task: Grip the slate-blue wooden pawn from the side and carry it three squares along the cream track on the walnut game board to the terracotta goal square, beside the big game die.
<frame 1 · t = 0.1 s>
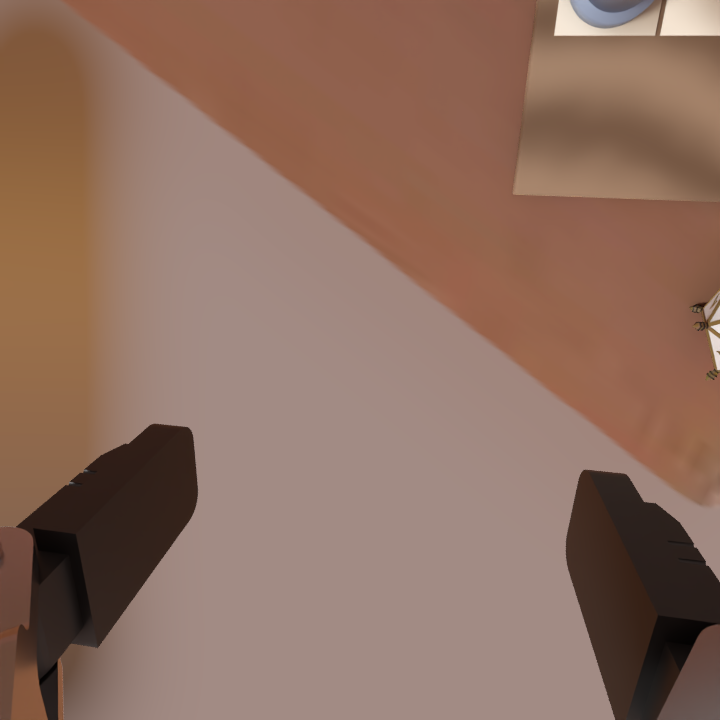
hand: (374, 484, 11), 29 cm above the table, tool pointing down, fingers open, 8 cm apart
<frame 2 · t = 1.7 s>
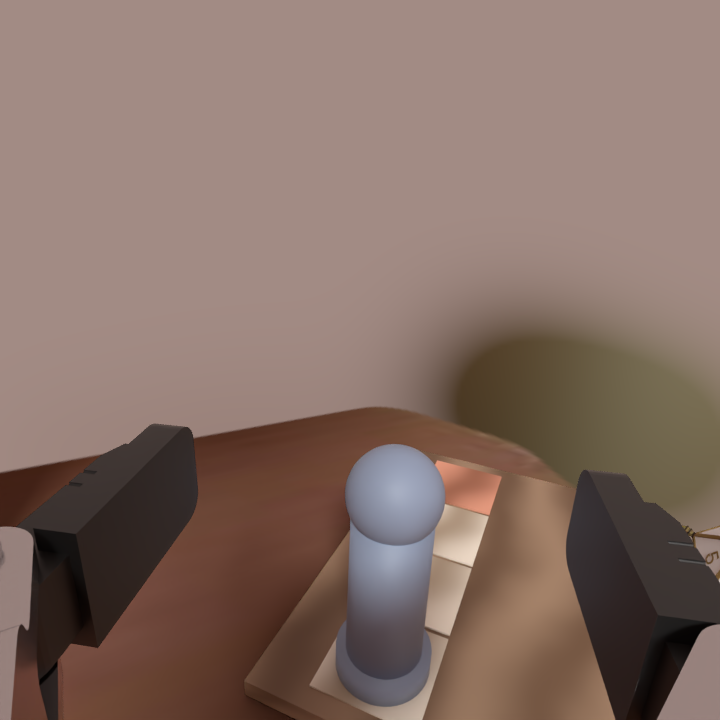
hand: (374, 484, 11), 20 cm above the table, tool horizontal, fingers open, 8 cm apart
pawn: (382, 660, 28), point 1 cm above the table, touching game board
game board: (472, 580, 35), on the table
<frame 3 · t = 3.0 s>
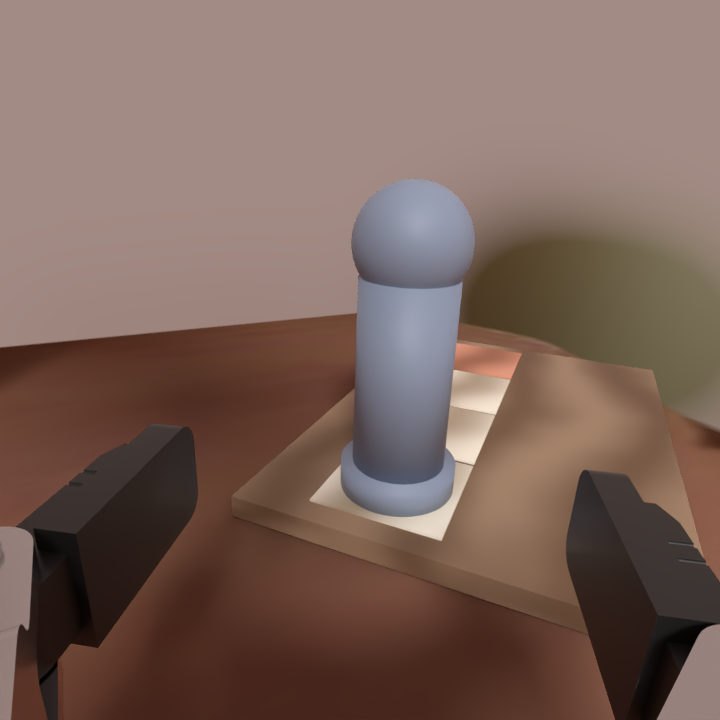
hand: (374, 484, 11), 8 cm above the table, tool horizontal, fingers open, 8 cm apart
pawn: (396, 481, 23), point 1 cm above the table, touching game board
game board: (495, 431, 30), on the table
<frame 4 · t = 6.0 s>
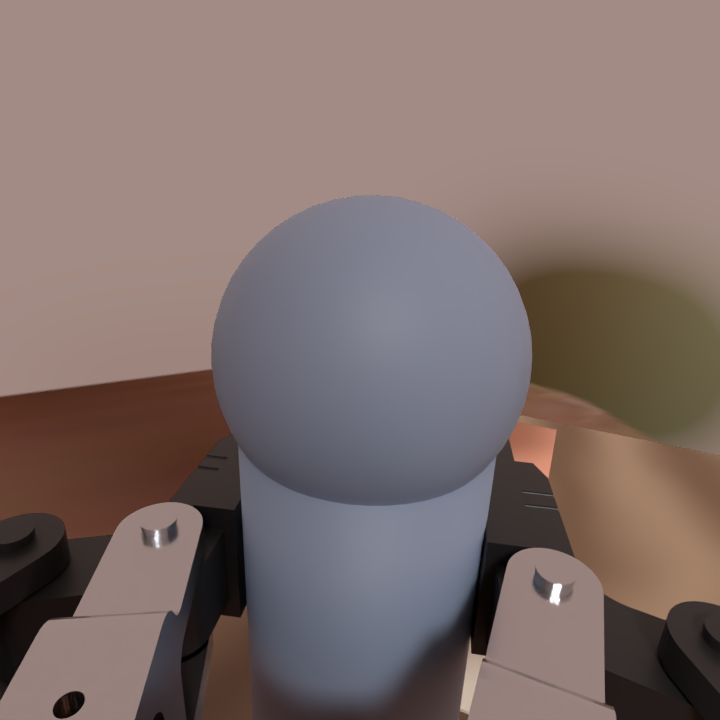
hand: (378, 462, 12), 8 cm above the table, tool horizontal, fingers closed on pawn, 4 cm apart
game board: (531, 599, 19), on the table
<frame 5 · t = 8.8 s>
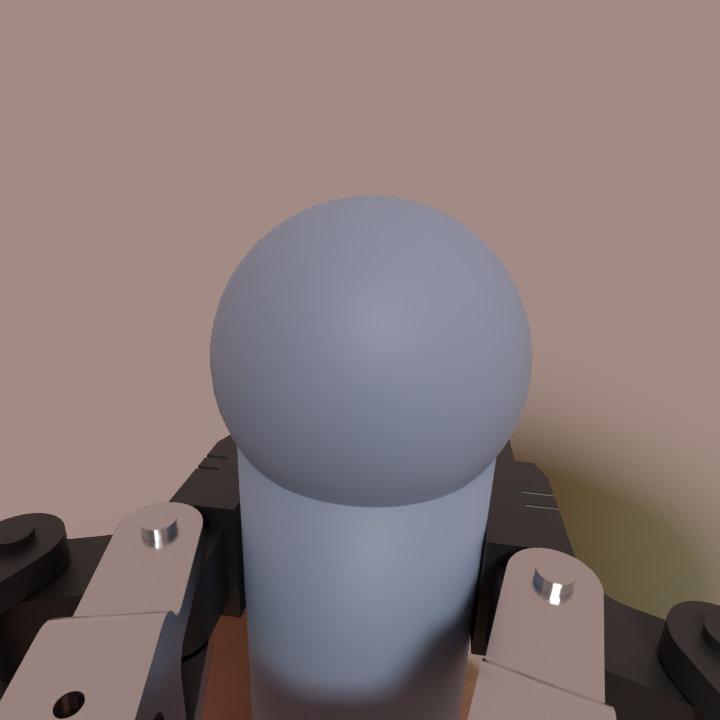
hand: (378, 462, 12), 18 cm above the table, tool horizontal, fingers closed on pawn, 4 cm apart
when the fingers open (9 cm above the table, at t = 11.5 s): pawn drops 1 cm, resting on game board.
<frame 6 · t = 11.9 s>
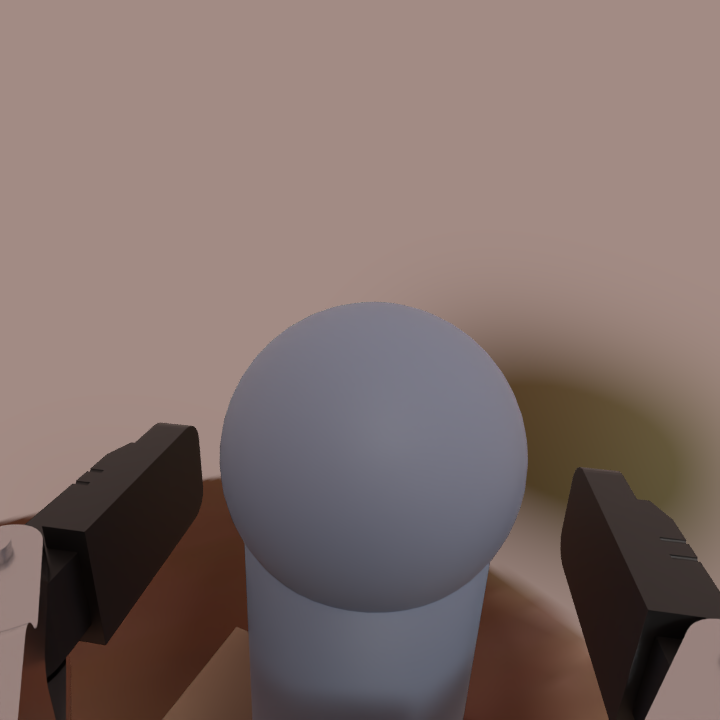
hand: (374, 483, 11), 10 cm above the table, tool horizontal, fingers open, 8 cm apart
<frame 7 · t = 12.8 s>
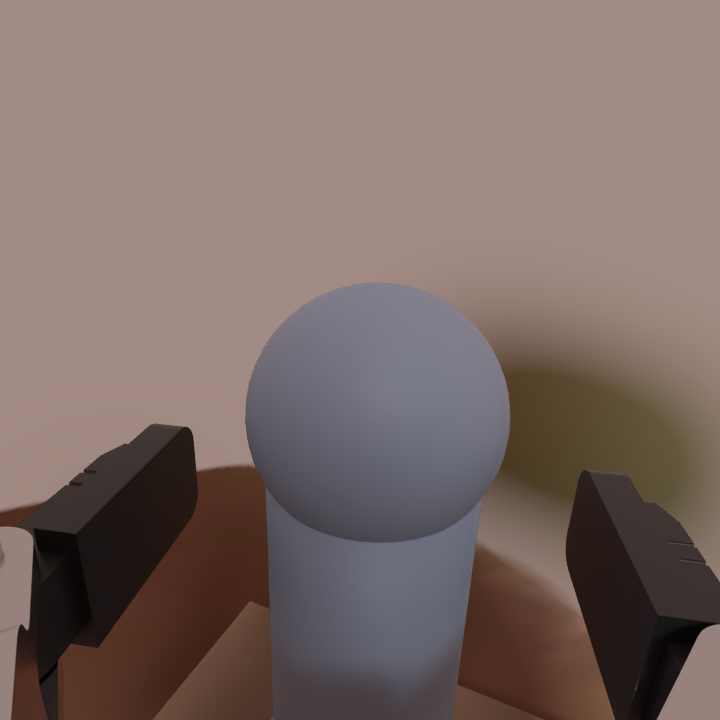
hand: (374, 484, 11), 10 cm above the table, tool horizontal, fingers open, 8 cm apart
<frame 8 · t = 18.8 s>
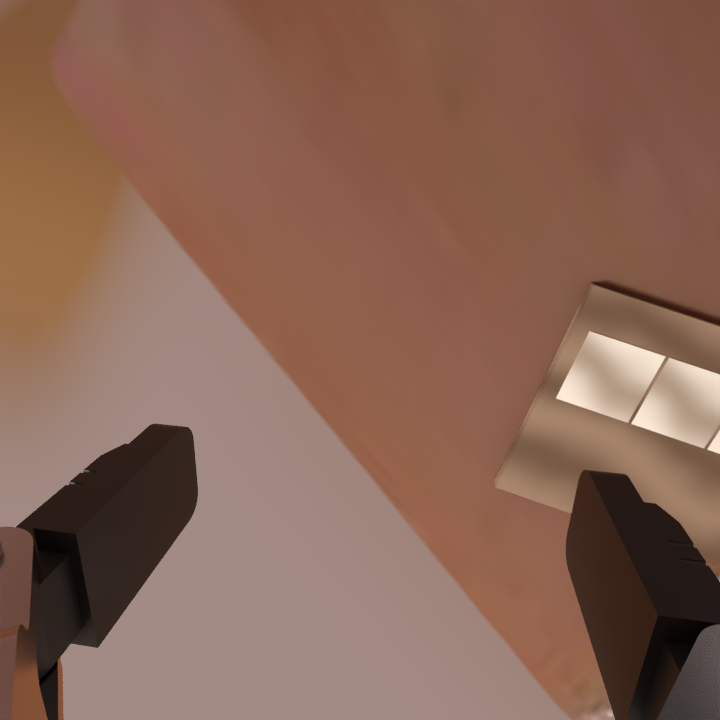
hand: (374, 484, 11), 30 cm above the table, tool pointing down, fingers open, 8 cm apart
game board: (698, 443, 41), on the table
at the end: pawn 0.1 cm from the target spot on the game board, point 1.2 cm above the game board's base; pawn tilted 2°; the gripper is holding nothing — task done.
